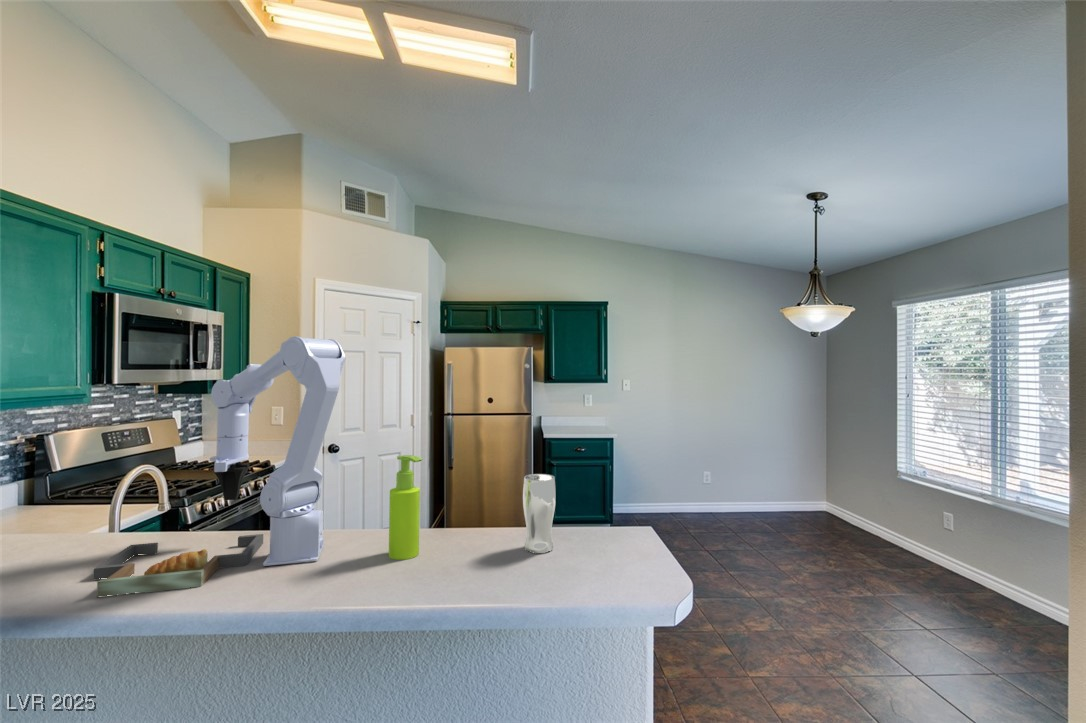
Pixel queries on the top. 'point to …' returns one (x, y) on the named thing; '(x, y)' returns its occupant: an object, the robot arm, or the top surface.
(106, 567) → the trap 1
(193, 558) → the pastry
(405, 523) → the soap dispenser
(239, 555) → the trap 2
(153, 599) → the top surface
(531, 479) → the beer glass
